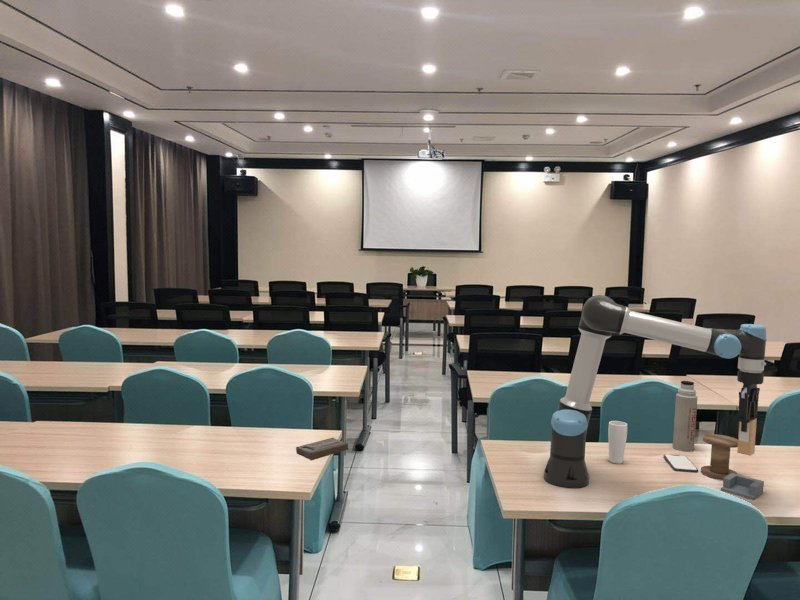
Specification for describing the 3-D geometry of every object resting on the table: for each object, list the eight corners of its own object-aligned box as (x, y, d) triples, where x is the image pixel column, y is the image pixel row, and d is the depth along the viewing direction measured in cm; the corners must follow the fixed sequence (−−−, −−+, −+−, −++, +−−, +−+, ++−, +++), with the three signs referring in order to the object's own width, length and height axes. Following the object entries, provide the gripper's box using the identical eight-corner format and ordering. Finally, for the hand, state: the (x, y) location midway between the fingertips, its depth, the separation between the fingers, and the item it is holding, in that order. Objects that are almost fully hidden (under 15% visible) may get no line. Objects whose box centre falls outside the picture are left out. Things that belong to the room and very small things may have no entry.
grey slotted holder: (753, 499, 196) (754, 488, 196) (720, 490, 203) (721, 479, 203) (763, 492, 203) (763, 481, 203) (731, 483, 210) (731, 472, 210)
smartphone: (699, 474, 220) (686, 459, 236) (699, 470, 220) (686, 455, 236) (673, 472, 221) (662, 457, 237) (673, 468, 221) (662, 453, 237)
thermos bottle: (698, 451, 246) (702, 383, 244) (682, 452, 243) (686, 384, 241) (684, 444, 253) (688, 379, 251) (668, 446, 251) (672, 379, 249)
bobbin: (731, 483, 210) (733, 446, 209) (695, 473, 219) (697, 438, 218) (742, 475, 219) (745, 439, 218) (707, 466, 227) (710, 432, 226)
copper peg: (750, 455, 199) (752, 420, 198) (737, 452, 202) (739, 417, 201) (754, 453, 202) (756, 418, 201) (741, 450, 205) (743, 415, 204)
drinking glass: (626, 465, 226) (629, 426, 225) (607, 463, 227) (610, 424, 226) (623, 459, 232) (626, 421, 231) (605, 458, 234) (607, 420, 233)
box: (348, 451, 233) (348, 443, 233) (311, 461, 221) (311, 453, 221) (332, 444, 241) (332, 437, 240) (295, 454, 229) (295, 446, 229)
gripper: (754, 375, 192) (750, 447, 193) (771, 369, 203) (766, 437, 205) (729, 372, 197) (725, 441, 199) (746, 366, 209) (742, 432, 210)
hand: (746, 439), depth 202 cm, fingers closed on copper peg, 4 cm apart
